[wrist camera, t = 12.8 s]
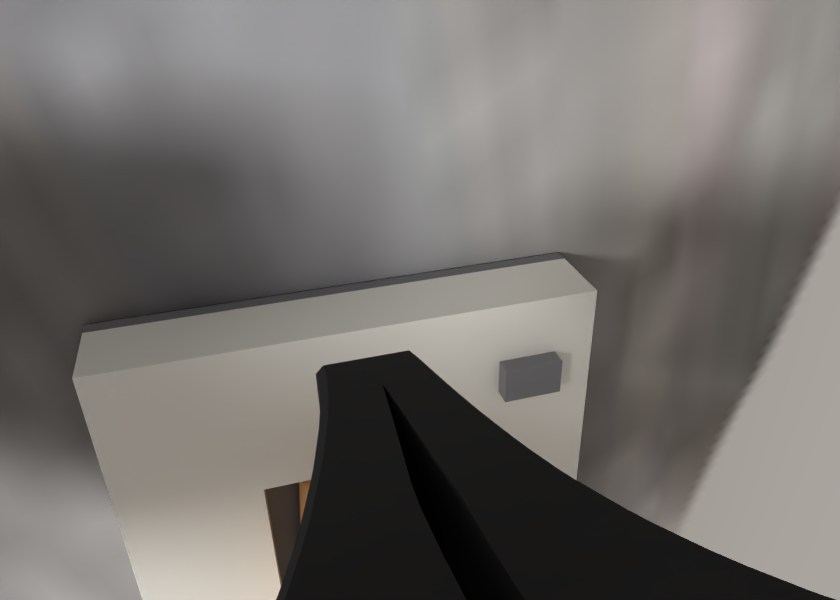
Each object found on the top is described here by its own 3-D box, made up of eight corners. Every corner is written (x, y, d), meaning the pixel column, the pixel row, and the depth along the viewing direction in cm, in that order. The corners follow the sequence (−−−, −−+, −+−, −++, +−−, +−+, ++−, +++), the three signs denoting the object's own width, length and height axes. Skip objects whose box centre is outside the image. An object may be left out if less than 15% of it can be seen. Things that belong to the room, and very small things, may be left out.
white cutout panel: (195, 702, 27) (196, 784, 24) (84, 324, 19) (69, 391, 16) (530, 612, 29) (561, 677, 27) (558, 252, 22) (606, 299, 19)
